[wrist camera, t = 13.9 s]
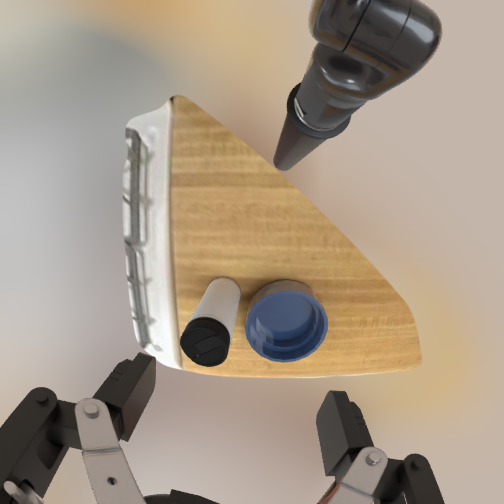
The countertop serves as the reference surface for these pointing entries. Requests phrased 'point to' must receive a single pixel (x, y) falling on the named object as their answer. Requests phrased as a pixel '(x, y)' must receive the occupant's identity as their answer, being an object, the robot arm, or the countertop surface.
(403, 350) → the countertop surface
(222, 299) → the travel mug
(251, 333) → the bowl
